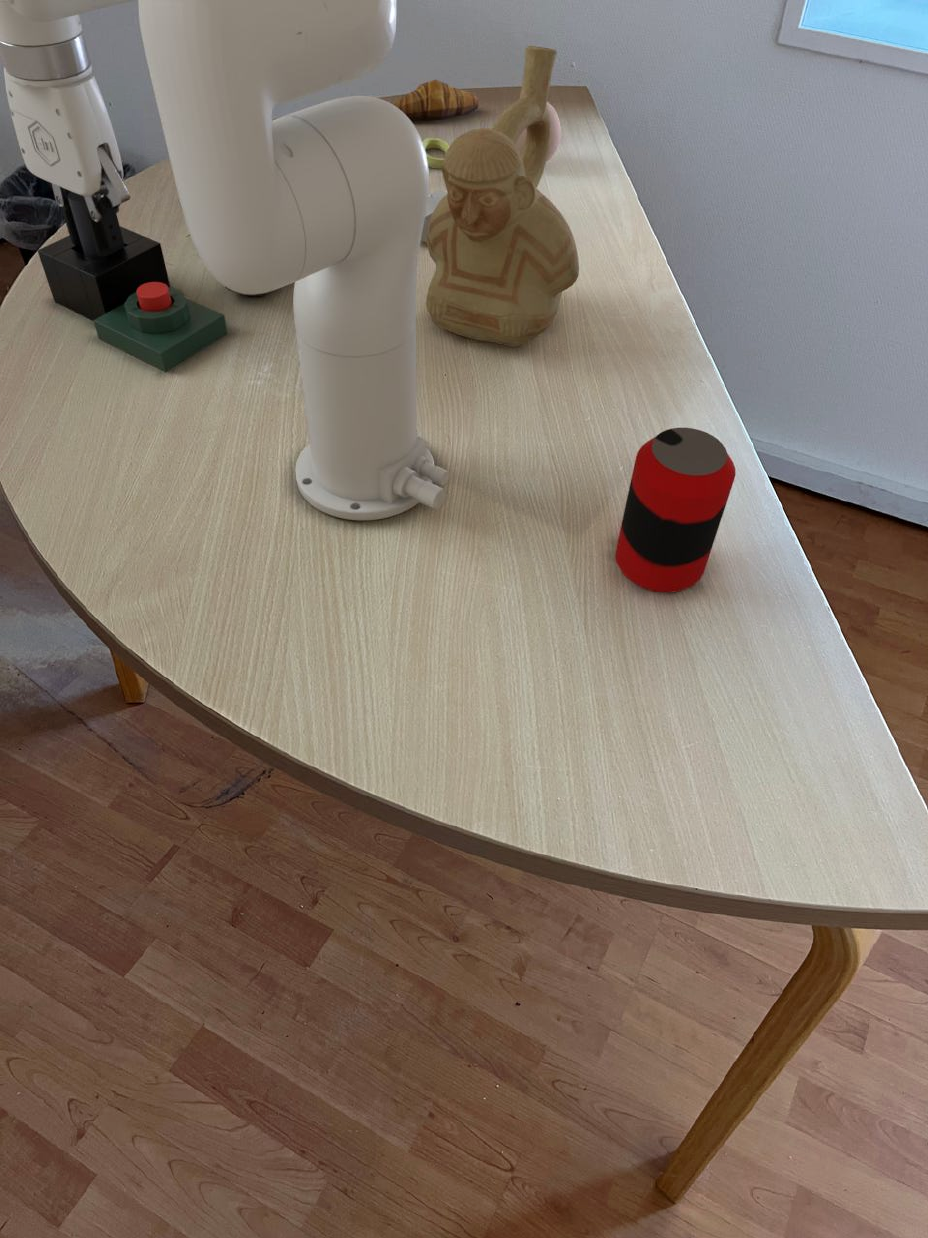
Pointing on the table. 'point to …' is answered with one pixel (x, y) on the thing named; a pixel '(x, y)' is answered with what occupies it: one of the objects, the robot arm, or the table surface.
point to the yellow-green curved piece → (439, 145)
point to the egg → (554, 134)
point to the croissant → (436, 101)
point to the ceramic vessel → (501, 225)
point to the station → (161, 330)
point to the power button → (154, 297)
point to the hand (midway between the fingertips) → (98, 244)
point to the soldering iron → (83, 223)
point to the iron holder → (101, 273)
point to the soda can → (674, 509)
